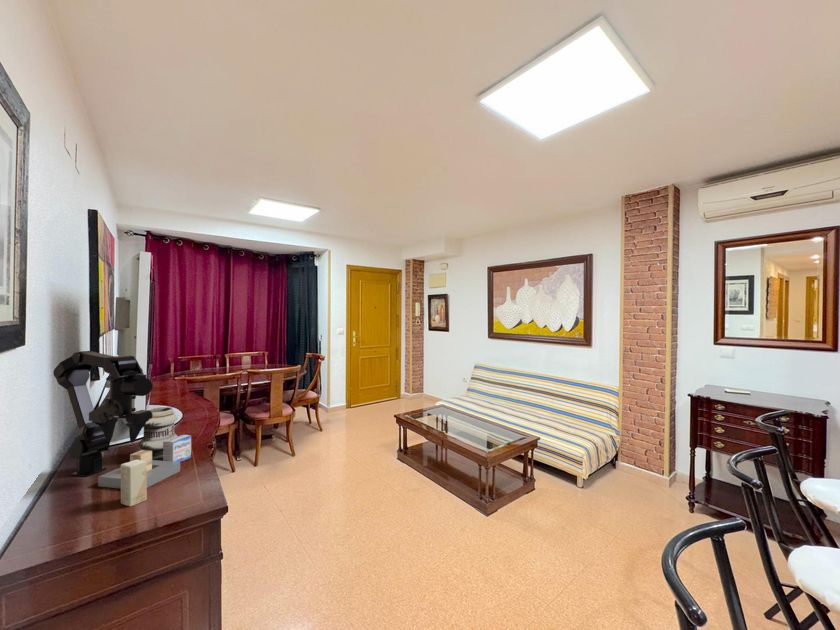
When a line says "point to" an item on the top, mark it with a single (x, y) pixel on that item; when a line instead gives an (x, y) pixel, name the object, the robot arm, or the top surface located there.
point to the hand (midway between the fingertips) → (120, 441)
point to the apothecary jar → (158, 431)
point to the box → (133, 482)
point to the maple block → (143, 457)
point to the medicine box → (177, 449)
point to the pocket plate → (153, 476)
